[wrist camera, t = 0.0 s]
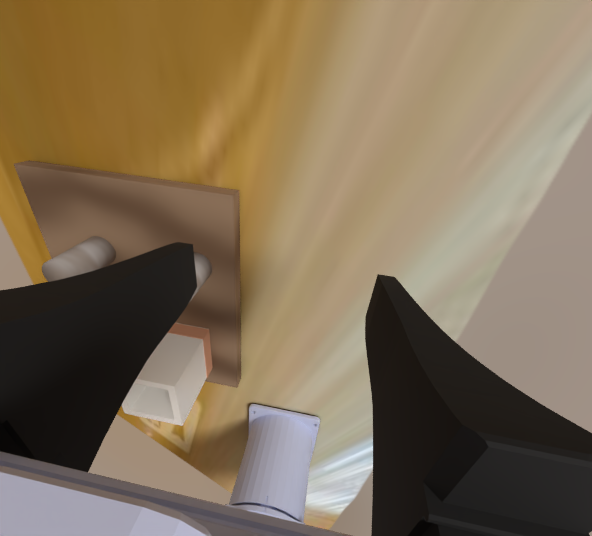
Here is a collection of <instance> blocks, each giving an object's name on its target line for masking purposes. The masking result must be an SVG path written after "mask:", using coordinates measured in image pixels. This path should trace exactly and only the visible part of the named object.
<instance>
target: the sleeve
mask: <svg viewBox="0 0 592 536" xmlns="http://www.w3.org/2000/svg"><path fill="white" fill-rule="evenodd" d="M212 368H213V367H212V356H211V344H210V333H209V329H206V328H201V327H196V326H190V325H185V324H180V323H174V325H173V326H172V327H171V329H170V330H169V331H168V333H167V334H166V335H165V337H164V338H163V339H162V341H161V342H160V343H159V345H158V346H157V347H156V349H155V350H154V351H153V353H152V354H151V356H150V357H149V359H148V360H147V362H146V363H145V365H144V367H143V368H142V370H141V372H140V373H139V375H138V377H137V378H136V380H135V382H134V383H133V385H132V387H131V389H130V390H129V392H128V394H127V396H126V398H125V399H124V401H123V403H122V408H123V410H124V413H126V414H130V415H135V416H140V417H144V418H149V419H153V420H158V421H163V422H167V423H172V424H176V425H181V426H183V424H184V422H185V420H186V418H187V416H188V414H189V412H190V410H191V408H192V406H193V404H194V402H195V400H196V398H197V396H198V394H199V392H200V390H201V388H202V386H203V384H204V382H205V380H206V378H208V376H209V374H210V372H211V370H212Z"/></svg>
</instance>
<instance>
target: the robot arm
mask: <svg viewBox="0 0 592 536" xmlns="http://www.w3.org/2000/svg"><path fill="white" fill-rule="evenodd" d="M196 289H197V279H196V269H195V260H194V250H193V244H188V243H182V242H176V243H172V244H169V245H166V246H163V247H160V248H157V249H154V250H152V251H149V252H146V253H144V254H141V255H138V256H135V257H133V258H130V259H127V260H124V261H121V262H118V263H115V264H112V265H109V266H106V267H103V268H100V269H97V270H94V271H91V272H87V273H84V274H80V275H76V276H72V277H68V278H64V279H60V280H55V281H50V282H45V283H40V284H35V285H30V286H25V287H20V288H14V289H8V290H1V291H0V536H351V535H347V534H342V533H338V532H334V531H330V530H326V529H322V528H318V527H313V526H309V525H305V523H303V521H304V512H305V502H306V493H307V484H308V475H309V465H310V462H311V458H312V454H313V449H314V445H315V441H316V437H317V433H318V428H319V424H320V419H319V418H318V417H316V416H311V415H306V414H301V413H296V412H291V411H286V410H282V409H277V408H272V407H267V406H262V405H257V404H251V405H250V407H249V438H248V441H247V445H246V448H245V451H244V455H243V458H242V462H241V465H240V468H239V472H238V475H237V479H236V482H235V485H234V489H233V492H232V496H231V499H230V503H229V505H227V504H226V505H222V504H217V503H213V502H209V501H205V500H201V499H197V498H192V497H188V496H184V495H180V494H175V493H171V492H167V491H163V490H159V489H155V488H151V487H146V486H142V485H138V484H134V483H130V482H125V481H121V480H117V479H113V478H109V477H105V476H101V475H96V474H92V473H88V471H89V469H90V467H91V465H92V462H93V460H94V458H95V456H96V454H97V452H98V450H99V447H100V446H101V443H102V441H103V439H104V437H105V435H106V433H107V432H108V430H109V428H110V425H111V424H112V422H113V420H114V418H115V416H116V414H117V412H118V410H119V408H120V407H121V405H122V403H123V401H124V399H125V398H126V396H127V394H128V392H129V390H130V389H131V387H132V385H133V383H134V382H135V380H136V378H137V377H138V375H139V373H140V372H141V370H142V368H143V367H144V365H145V363H146V362H147V360H148V359H149V357H150V356H151V354H152V353H153V351H154V350H155V349H156V347H157V346H158V345H159V343H160V342H161V341H162V339H163V338H164V337H165V335H166V334H167V333H168V331H169V330H170V329H171V327H172V326H173V325H174V323H175V322H176V321H177V319H178V318H179V317H180V315H181V314H182V313H183V311H184V310H185V308H186V307H187V305H188V304H189V302H190V300H191V298H192V296H193V294H194V292H195V290H196ZM365 340H366V350H367V358H368V366H369V374H370V383H371V391H372V403H373V506H372V536H590V535H589V532H591V531H592V433H590V432H588V431H587V430H585V429H583V428H581V427H580V426H578V425H576V424H574V423H573V422H571V421H569V420H567V419H565V418H564V417H562V416H560V415H559V414H557V413H555V412H553V411H552V410H550V409H548V408H546V407H545V406H543V405H541V404H540V403H538V402H537V401H535V400H534V399H532V398H530V397H529V396H527V395H526V394H524V393H523V392H521V391H520V390H518V389H516V388H515V387H513V386H512V385H511V384H509V383H508V382H506V381H505V380H503V379H502V378H500V377H499V376H498V375H496V374H495V373H493V372H492V371H491V370H489V369H488V368H487V367H485V366H484V365H483V364H481V363H480V362H479V361H477V360H476V359H475V358H474V357H472V356H471V355H470V354H468V353H467V352H466V351H465V350H464V349H463V348H461V347H460V346H459V345H458V344H457V343H456V342H454V341H453V340H452V339H451V338H450V337H449V336H448V335H447V334H446V333H445V332H444V331H443V330H442V329H441V328H440V327H439V326H438V325H437V324H436V323H435V322H434V321H433V320H432V319H431V318H430V317H429V316H428V315H427V314H426V313H425V312H424V311H423V310H422V309H421V307H420V306H419V305H418V304H417V303H416V302H415V301H414V299H413V298H412V297H411V296H410V295H409V293H408V292H407V291H406V290H405V289H404V287H403V286H402V285H401V284H400V283H399V281H398V280H397V279H396V278H395V277H391V276H385V275H379V274H378V276H377V279H376V283H375V286H374V290H373V293H372V297H371V300H370V303H369V307H368V310H367V314H366V327H365Z"/></svg>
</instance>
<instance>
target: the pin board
mask: <svg viewBox="0 0 592 536" xmlns="http://www.w3.org/2000/svg"><path fill="white" fill-rule="evenodd" d="M14 166H15V169H16V171H17V173H18V176H19V178H20V181H21V183H22V186H23V188H24V191H25V193H26V196H27V198H28V201H29V203H30V206H31V208H32V211H33V213H34V216H35V218H36V221H37V223H38V226H39V228H40V231H41V233H42V235H43V238H44V240H45V243H46V245H47V248H48V250H49V253H50V255H51V258H52V259H51V260H49V261H47V262H45V263H44V264H43V266H42V272H43V275H44V276H45V278H46V279H47V280H48V282H50V281H55V280H60V279H64V278H68V277H72V276H76V275H80V274H84V273H87V272H91V271H94V270H97V269H100V268H103V267H106V266H109V265H112V264H115V263H118V262H121V261H124V260H127V259H130V258H133V257H135V256H138V255H141V254H144V253H146V252H149V251H152V250H154V249H157V248H160V247H163V246H166V245H169V244H172V243H176V242H182V243H188V244H193V250H194V260H195V269H196V279H197V289H196V290H195V292H194V294H193V296H192V298H191V300H190V302H189V304H188V305H187V307H186V308H185V310H184V311H183V313H182V314H181V315H180V317H179V318H178V319H177V321H176V322H175V323H180V324H185V325H190V326H196V327H201V328H206V329H209V333H210V344H211V356H212V367H213V368H212V370H211V372H210V374H209V376H208V378H206V380H205V381H207V382H212V383H217V384H222V385H227V386H232V387H238V385H239V382H240V379H241V320H240V225H239V190H233V189H226V188H219V187H212V186H205V185H198V184H190V183H183V182H176V181H169V180H162V179H155V178H148V177H141V176H134V175H127V174H120V173H113V172H106V171H99V170H92V169H85V168H78V167H71V166H64V165H57V164H50V163H43V162H36V161H25V162H20V163H16V164H14Z"/></svg>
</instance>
